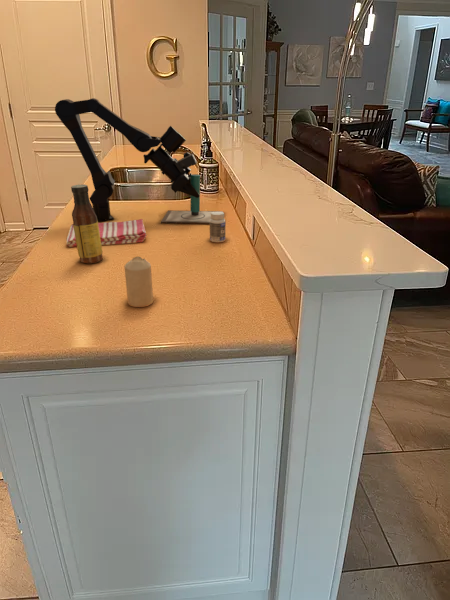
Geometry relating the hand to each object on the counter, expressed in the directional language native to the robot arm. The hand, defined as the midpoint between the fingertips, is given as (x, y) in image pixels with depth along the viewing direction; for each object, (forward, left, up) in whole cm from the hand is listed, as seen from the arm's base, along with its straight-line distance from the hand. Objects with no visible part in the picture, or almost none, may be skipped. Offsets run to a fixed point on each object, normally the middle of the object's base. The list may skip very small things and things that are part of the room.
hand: (199, 195), depth 163 cm
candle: (+56, -42, -8) cm, 71 cm away
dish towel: (+7, -35, -8) cm, 36 cm away
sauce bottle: (+25, -45, -8) cm, 52 cm away
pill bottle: (+26, -7, -8) cm, 28 cm away
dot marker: (-1, -1, -7) cm, 7 cm away
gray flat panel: (0, -3, -7) cm, 8 cm away
